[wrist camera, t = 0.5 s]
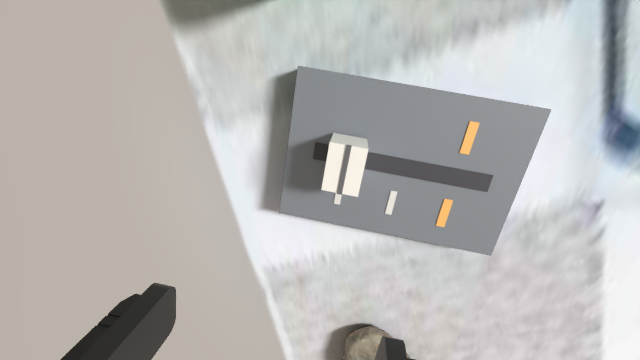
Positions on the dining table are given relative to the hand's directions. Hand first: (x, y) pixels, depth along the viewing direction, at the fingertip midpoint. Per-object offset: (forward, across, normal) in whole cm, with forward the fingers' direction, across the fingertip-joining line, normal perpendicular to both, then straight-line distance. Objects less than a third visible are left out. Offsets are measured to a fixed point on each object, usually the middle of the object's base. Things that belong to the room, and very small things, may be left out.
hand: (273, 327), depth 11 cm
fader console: (+21, -7, -2) cm, 22 cm away
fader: (+18, -2, -2) cm, 18 cm away
